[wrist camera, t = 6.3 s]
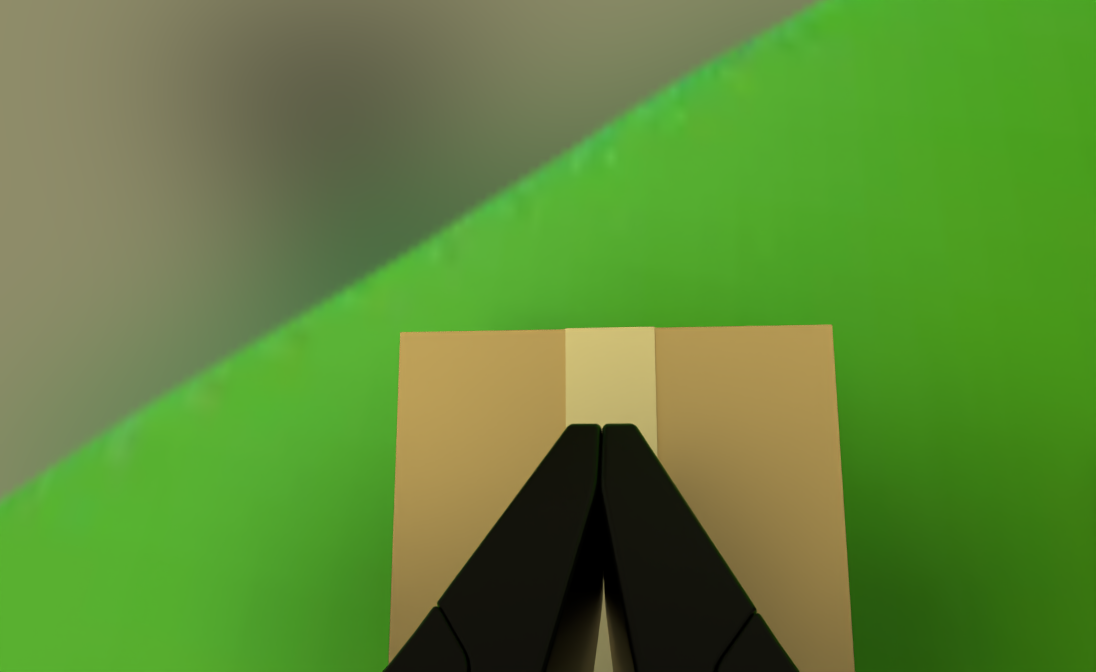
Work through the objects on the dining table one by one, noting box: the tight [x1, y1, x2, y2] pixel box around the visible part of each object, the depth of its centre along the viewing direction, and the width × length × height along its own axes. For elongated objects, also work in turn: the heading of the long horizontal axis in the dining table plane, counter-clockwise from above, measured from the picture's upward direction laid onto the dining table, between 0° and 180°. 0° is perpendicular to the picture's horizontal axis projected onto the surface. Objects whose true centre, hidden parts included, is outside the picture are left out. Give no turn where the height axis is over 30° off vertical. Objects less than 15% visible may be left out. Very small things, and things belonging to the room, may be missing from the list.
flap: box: [389, 325, 855, 672], centre depth 15 cm, size 8×9×1 cm
